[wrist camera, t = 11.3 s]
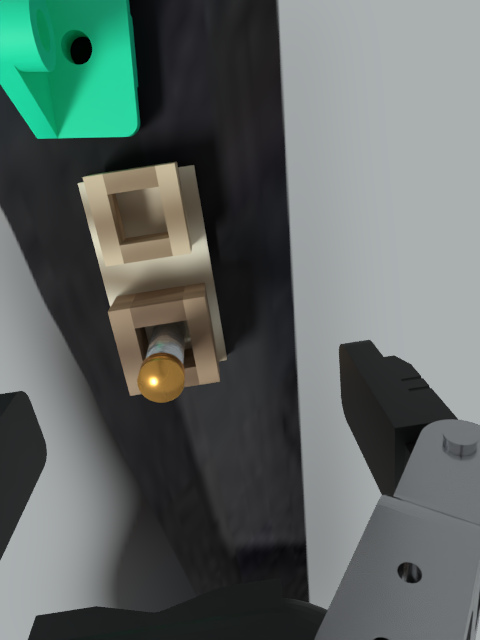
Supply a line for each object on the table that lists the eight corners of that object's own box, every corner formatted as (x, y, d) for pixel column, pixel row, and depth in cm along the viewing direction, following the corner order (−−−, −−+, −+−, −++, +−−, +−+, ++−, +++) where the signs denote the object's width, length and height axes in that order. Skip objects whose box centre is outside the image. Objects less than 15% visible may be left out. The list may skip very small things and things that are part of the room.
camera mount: (143, 136, 38) (121, 135, 28) (48, 138, 37) (-7, 138, 28) (127, -42, 33) (95, -114, 24) (19, -42, 33) (-58, -116, 23)
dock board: (79, 175, 38) (61, 181, 34) (192, 158, 38) (191, 161, 34) (130, 370, 45) (121, 397, 40) (226, 355, 45) (228, 380, 41)
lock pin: (147, 315, 42) (132, 365, 33) (184, 310, 42) (179, 357, 33) (155, 349, 43) (142, 405, 34) (191, 343, 43) (188, 398, 34)
